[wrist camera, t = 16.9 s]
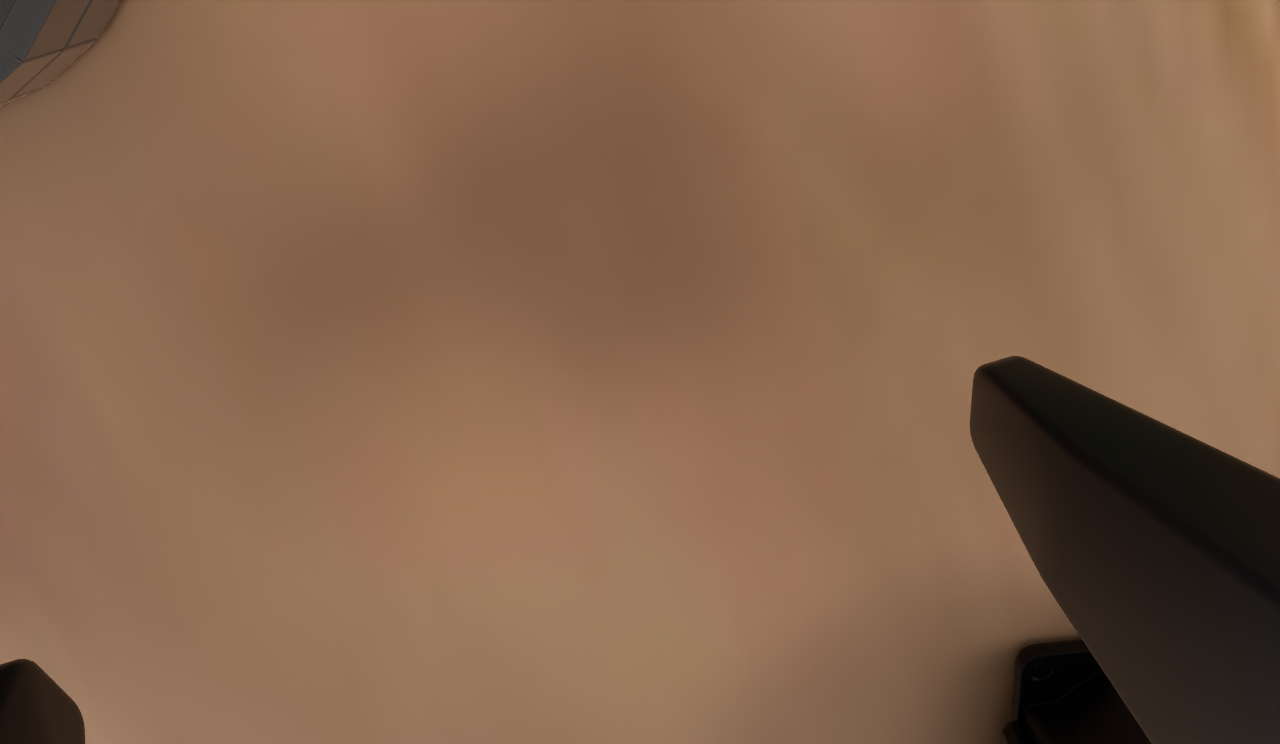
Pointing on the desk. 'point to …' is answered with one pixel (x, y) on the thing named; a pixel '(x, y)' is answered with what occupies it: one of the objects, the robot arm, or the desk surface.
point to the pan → (45, 40)
